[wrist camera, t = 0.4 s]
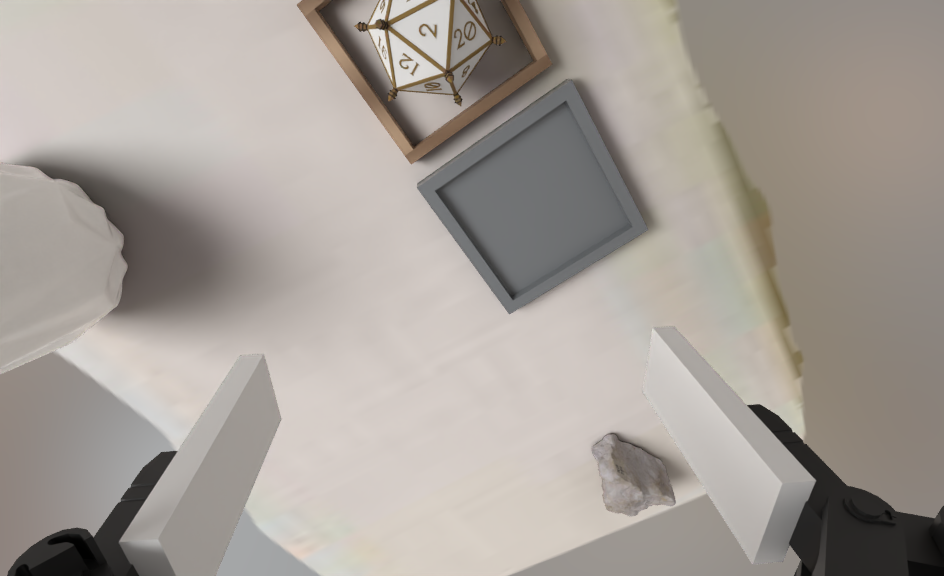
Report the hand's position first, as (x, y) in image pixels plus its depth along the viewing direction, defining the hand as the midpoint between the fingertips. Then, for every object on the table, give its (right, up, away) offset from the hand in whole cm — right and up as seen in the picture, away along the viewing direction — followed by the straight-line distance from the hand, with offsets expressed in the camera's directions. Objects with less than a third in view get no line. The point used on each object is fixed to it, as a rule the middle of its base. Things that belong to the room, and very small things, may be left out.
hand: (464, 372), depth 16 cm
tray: (+5, +10, +24) cm, 26 cm away
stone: (+17, -17, +38) cm, 45 cm away
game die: (-3, +21, +18) cm, 28 cm away
